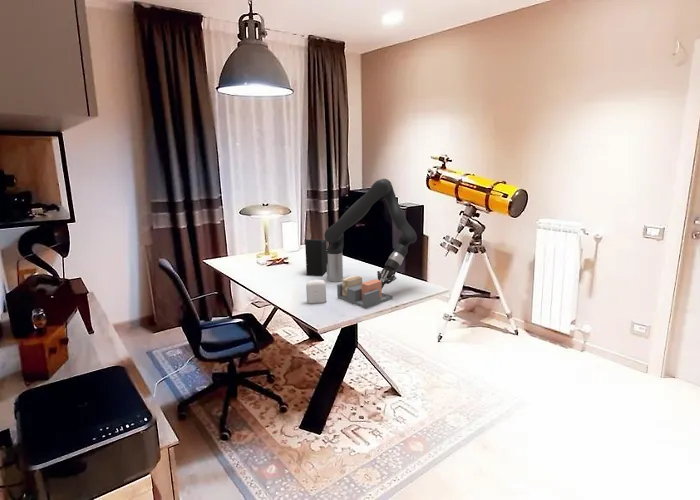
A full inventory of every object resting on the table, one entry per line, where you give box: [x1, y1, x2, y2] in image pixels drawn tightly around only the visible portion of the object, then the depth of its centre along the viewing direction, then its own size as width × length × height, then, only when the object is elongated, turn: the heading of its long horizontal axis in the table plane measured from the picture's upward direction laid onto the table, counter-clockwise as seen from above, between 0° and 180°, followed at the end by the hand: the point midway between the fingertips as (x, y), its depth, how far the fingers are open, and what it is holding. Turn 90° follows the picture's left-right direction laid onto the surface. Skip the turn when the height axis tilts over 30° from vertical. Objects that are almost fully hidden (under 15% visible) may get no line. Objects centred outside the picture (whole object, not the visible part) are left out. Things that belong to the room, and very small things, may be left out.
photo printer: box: [305, 279, 327, 304], centre depth 225 cm, size 10×4×12 cm, turn 96°
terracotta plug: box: [361, 278, 383, 300], centre depth 224 cm, size 5×10×9 cm, turn 132°
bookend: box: [304, 238, 328, 277], centre depth 279 cm, size 23×11×24 cm, turn 167°
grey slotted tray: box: [336, 282, 393, 310], centre depth 229 cm, size 22×20×8 cm
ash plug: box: [341, 275, 363, 297], centre depth 231 cm, size 5×10×9 cm, turn 132°
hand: (378, 288), depth 228 cm, fingers closed
